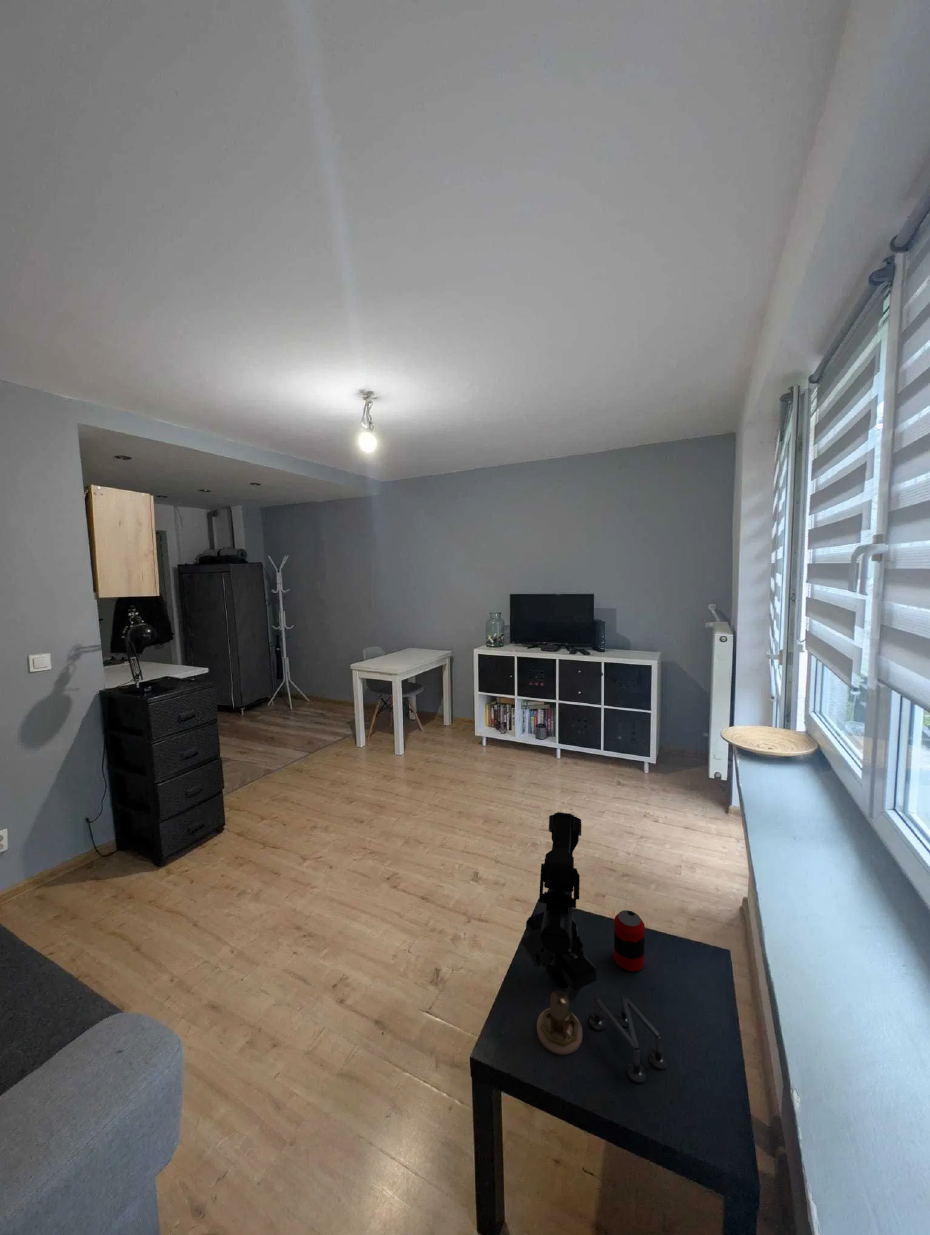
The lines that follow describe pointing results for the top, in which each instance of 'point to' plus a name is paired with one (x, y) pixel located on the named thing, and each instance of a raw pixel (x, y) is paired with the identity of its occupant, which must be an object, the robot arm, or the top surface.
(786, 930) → the top surface
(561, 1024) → the octagonal handwheel knob
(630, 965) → the soda can
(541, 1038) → the coaster
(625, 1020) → the zigzag metal pull handle
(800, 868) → the top surface
